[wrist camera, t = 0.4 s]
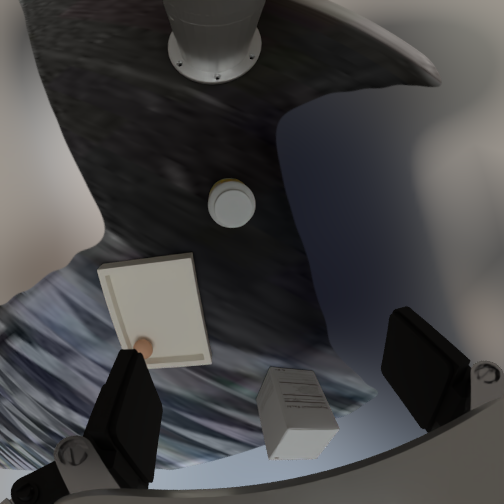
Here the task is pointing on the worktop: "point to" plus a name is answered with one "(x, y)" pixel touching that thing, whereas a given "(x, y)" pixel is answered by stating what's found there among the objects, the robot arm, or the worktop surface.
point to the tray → (158, 308)
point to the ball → (143, 348)
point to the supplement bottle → (231, 203)
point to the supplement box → (294, 415)
